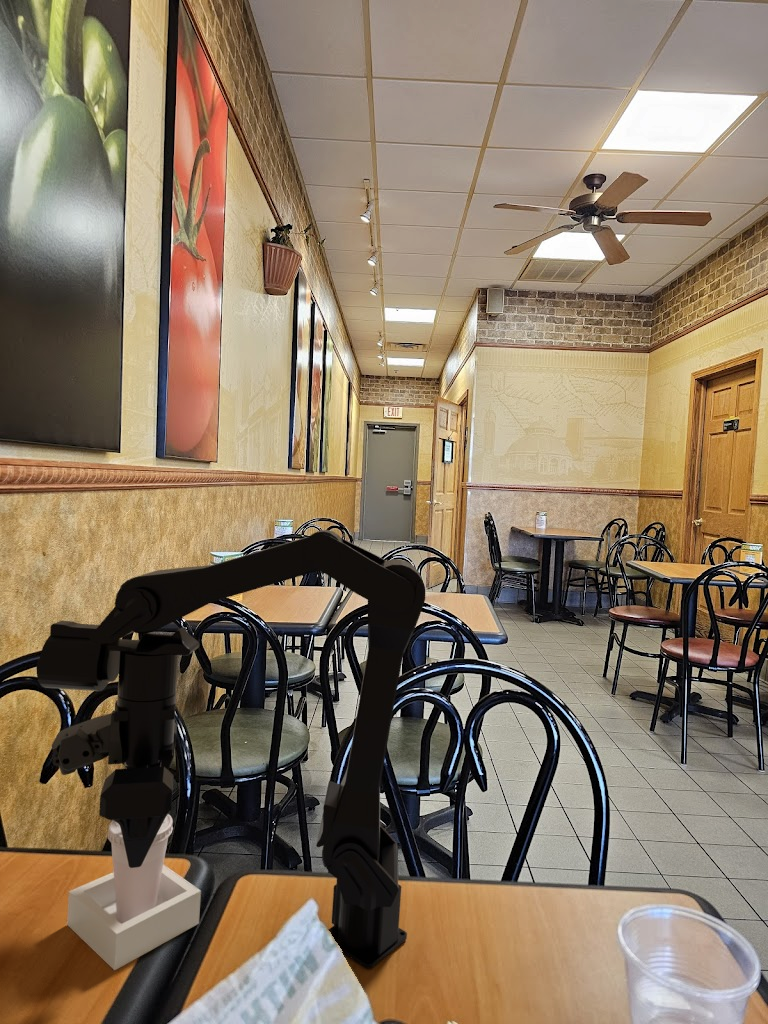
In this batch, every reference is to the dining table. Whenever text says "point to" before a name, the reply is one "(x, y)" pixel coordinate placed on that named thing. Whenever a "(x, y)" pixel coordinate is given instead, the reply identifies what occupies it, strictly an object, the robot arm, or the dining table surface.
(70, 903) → the box
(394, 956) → the dining table surface
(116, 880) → the smoothie
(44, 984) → the dining table surface
